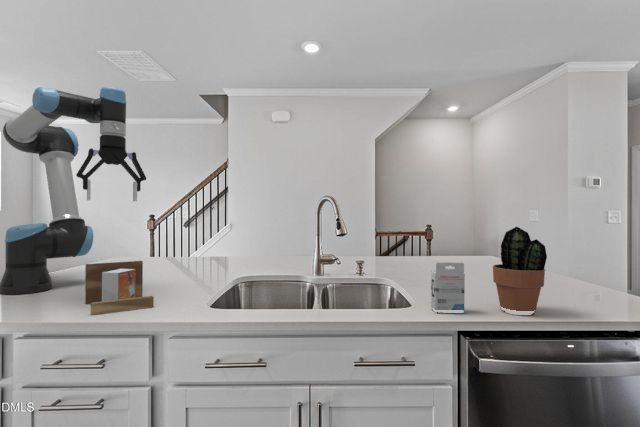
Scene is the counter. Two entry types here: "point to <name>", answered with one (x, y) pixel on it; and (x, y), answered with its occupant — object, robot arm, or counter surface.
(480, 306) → the counter surface
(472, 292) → the counter surface
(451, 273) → the ink box
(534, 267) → the potted plant
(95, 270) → the board
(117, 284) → the small box
